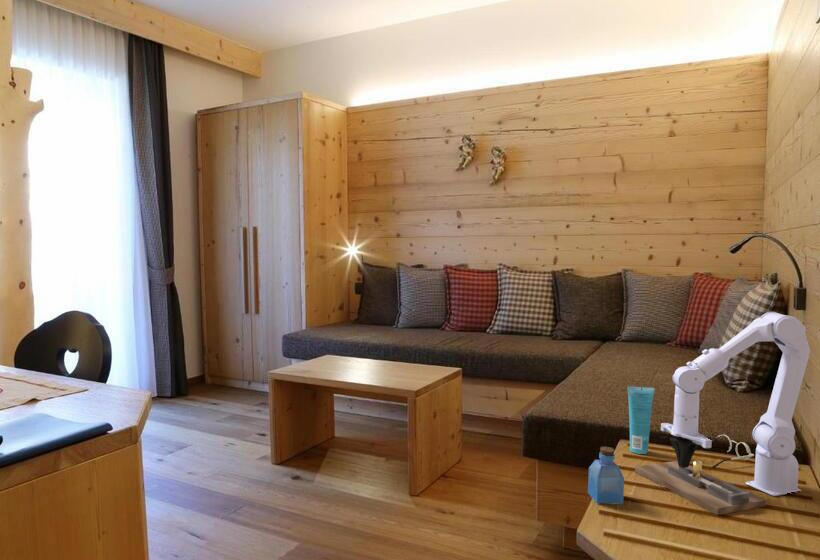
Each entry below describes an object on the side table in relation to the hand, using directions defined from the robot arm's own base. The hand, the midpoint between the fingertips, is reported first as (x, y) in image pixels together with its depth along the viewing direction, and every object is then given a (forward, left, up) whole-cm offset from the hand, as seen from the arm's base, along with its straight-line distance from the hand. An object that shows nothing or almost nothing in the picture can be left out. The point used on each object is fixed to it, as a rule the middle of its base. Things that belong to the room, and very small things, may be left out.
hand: (683, 466), depth 148 cm
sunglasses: (-23, -12, -5) cm, 27 cm away
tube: (-5, -21, -4) cm, 22 cm away
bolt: (0, +8, -2) cm, 9 cm away
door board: (0, +4, -4) cm, 6 cm away
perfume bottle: (+26, +2, -4) cm, 26 cm away
